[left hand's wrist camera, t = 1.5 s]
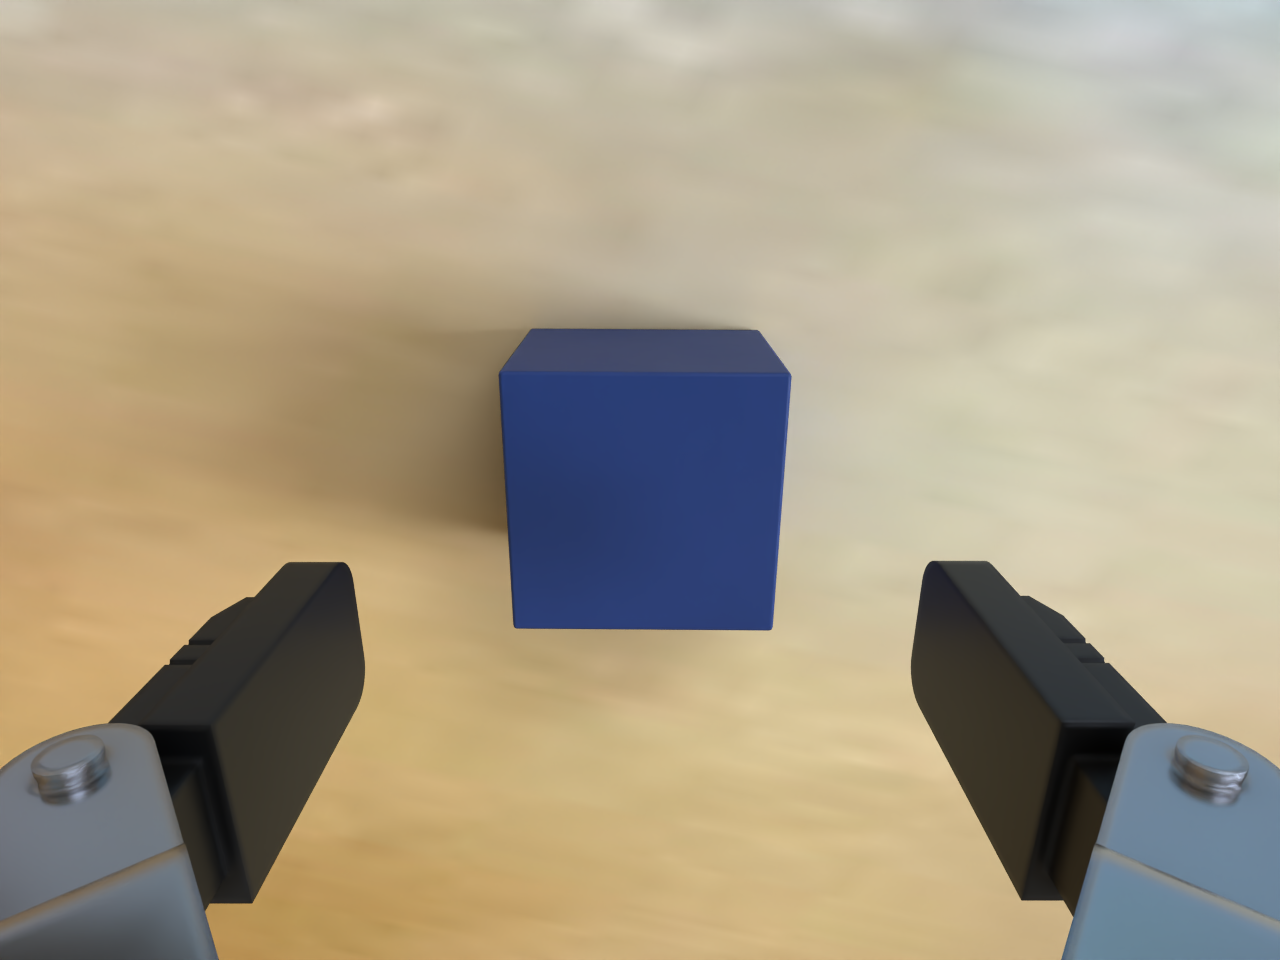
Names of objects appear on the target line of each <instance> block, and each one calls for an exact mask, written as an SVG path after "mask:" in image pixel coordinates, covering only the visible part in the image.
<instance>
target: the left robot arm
mask: <svg viewBox="0 0 1280 960" xmlns="http://www.w3.org/2000/svg"><path fill="white" fill-rule="evenodd" d="M364 678H365V660H364V652H363V645H362V638H361V631H360V625H359V618H358V611H357V604H356V597H355V590H354V583H353V577H352V574H351V571H350V568H349V567H348V565H347V564H346V563H344V562H289V563H286V564H285V565H284V566H283V567H282V568H281V569H280V570H279V571H278V572H277V573H276V574H275V576H274V577H273V578H272V579H271V580H270V581H269V582H268V583H267V584H266V585H265V586H264V587H263V589H262V590H261V591H260V592H259V593H258V594H257V595H256V596H255V597H246V598H244V599H242V600H241V601H239V602H237V603H235V604H234V605H232V606H230V607H228V608H227V609H225V610H223V611H221V612H220V613H218V614H216V615H214V616H213V617H211V618H210V619H209V620H208V621H207V622H206V623H205V624H204V625H203V626H202V627H201V628H200V629H199V631H198V632H197V633H196V634H195V635H194V636H193V637H192V638H191V639H190V640H189V645H184V646H183V647H182V648H181V649H180V650H179V651H178V652H177V653H176V654H175V655H174V656H173V657H172V658H171V659H170V664H169V665H164V666H163V667H162V668H161V669H160V670H159V671H158V672H157V673H156V675H155V676H154V677H153V678H152V679H151V680H150V681H149V682H148V683H147V684H146V685H145V686H144V687H143V688H142V689H141V690H140V691H139V692H138V693H137V694H136V695H135V696H134V697H133V698H132V699H131V700H130V701H129V702H128V703H127V704H126V705H125V706H124V707H123V708H122V709H121V710H120V711H119V712H118V713H117V714H116V715H115V716H114V718H113V719H112V720H111V721H110V722H109V723H107V724H99V725H92V726H88V727H83V728H79V729H76V730H72V731H69V732H66V733H63V734H60V735H57V736H55V737H52V738H50V739H48V740H46V741H43V742H41V743H39V744H37V745H35V746H33V747H32V748H30V749H28V750H26V751H24V752H23V753H21V754H20V755H18V756H17V757H15V758H14V759H12V760H11V761H10V762H8V763H7V764H6V765H5V766H3V767H2V768H1V769H0V960H219V959H218V956H217V952H216V949H215V945H214V942H213V938H212V935H211V931H210V928H209V924H208V921H207V917H206V914H205V910H206V909H207V907H208V905H209V903H253V901H254V899H255V897H256V895H257V893H258V892H259V890H260V888H261V886H262V884H263V882H264V880H265V879H266V877H267V875H268V873H269V871H270V869H271V867H272V865H273V864H274V862H275V860H276V858H277V856H278V854H279V852H280V850H281V849H282V847H283V845H284V843H285V841H286V839H287V837H288V836H289V834H290V832H291V830H292V828H293V826H294V824H295V822H296V821H297V819H298V817H299V815H300V813H301V811H302V809H303V807H304V806H305V804H306V802H307V800H308V798H309V796H310V794H311V793H312V791H313V789H314V787H315V785H316V783H317V781H318V779H319V778H320V776H321V774H322V772H323V770H324V768H325V766H326V765H327V763H328V761H329V759H330V757H331V755H332V753H333V751H334V750H335V748H336V746H337V744H338V742H339V740H340V738H341V736H342V735H343V733H344V731H345V729H346V727H347V725H348V723H349V722H350V720H351V718H352V716H353V714H354V712H355V710H356V708H357V706H358V704H359V702H360V699H361V695H362V691H363V686H364ZM911 678H912V686H913V691H914V695H915V698H916V701H917V703H918V705H919V707H920V709H921V711H922V713H923V715H924V717H925V719H926V721H927V723H928V724H929V726H930V728H931V730H932V732H933V734H934V736H935V738H936V740H937V741H938V743H939V745H940V747H941V749H942V751H943V753H944V755H945V757H946V758H947V760H948V762H949V764H950V766H951V768H952V770H953V772H954V774H955V775H956V777H957V779H958V781H959V783H960V785H961V787H962V789H963V791H964V793H965V794H966V796H967V798H968V800H969V802H970V804H971V806H972V808H973V810H974V811H975V813H976V815H977V817H978V819H979V821H980V823H981V825H982V827H983V828H984V830H985V832H986V834H987V836H988V838H989V840H990V842H991V844H992V846H993V847H994V849H995V851H996V853H997V855H998V857H999V859H1000V861H1001V863H1002V864H1003V866H1004V868H1005V870H1006V872H1007V874H1008V876H1009V878H1010V880H1011V881H1012V883H1013V885H1014V887H1015V889H1016V891H1017V893H1018V895H1019V897H1020V898H1021V900H1064V902H1065V903H1066V905H1067V907H1068V909H1069V910H1070V912H1071V914H1072V915H1073V921H1072V924H1071V928H1070V931H1069V935H1068V938H1067V942H1066V945H1065V949H1064V952H1063V956H1062V959H1061V960H1280V769H1279V768H1278V767H1277V766H1275V765H1274V764H1273V763H1272V762H1270V761H1269V760H1268V759H1266V758H1265V757H1263V756H1262V755H1260V754H1259V753H1257V752H1256V751H1254V750H1252V749H1250V748H1248V747H1247V746H1245V745H1243V744H1241V743H1239V742H1237V741H1234V740H1232V739H1230V738H1228V737H1225V736H1223V735H1220V734H1217V733H1214V732H1211V731H1208V730H1204V729H1201V728H1197V727H1192V726H1188V725H1181V724H1173V723H1167V722H1166V721H1165V720H1164V719H1163V718H1162V717H1161V716H1160V715H1159V714H1158V713H1157V712H1156V711H1155V710H1154V709H1153V708H1152V707H1151V706H1150V705H1149V704H1148V703H1147V702H1146V701H1145V700H1144V699H1143V698H1142V697H1141V696H1140V695H1139V693H1138V692H1137V691H1136V690H1135V689H1134V688H1133V687H1132V686H1131V685H1130V684H1129V683H1128V682H1127V681H1126V680H1125V679H1124V678H1123V677H1122V676H1121V675H1120V674H1119V673H1118V672H1117V671H1116V670H1115V669H1114V668H1113V667H1112V666H1111V665H1110V664H1109V663H1105V662H1104V657H1103V656H1102V655H1101V654H1100V653H1099V652H1098V651H1097V650H1096V649H1095V648H1094V647H1093V646H1092V645H1091V644H1090V643H1086V642H1085V638H1084V637H1083V636H1082V635H1081V634H1080V633H1079V632H1078V630H1077V629H1076V628H1075V627H1074V626H1073V625H1072V624H1071V623H1070V622H1069V621H1068V620H1067V619H1066V618H1065V617H1064V616H1063V615H1061V614H1059V613H1058V612H1056V611H1054V610H1052V609H1051V608H1049V607H1047V606H1045V605H1044V604H1042V603H1040V602H1038V601H1037V600H1035V599H1033V598H1031V597H1030V596H1020V595H1019V594H1018V593H1017V592H1016V591H1015V590H1014V588H1013V587H1012V586H1011V585H1010V584H1009V583H1008V582H1007V581H1006V580H1005V579H1004V577H1003V576H1002V575H1001V574H1000V573H999V572H998V571H997V570H996V569H995V568H994V566H993V565H992V564H990V563H989V562H987V561H931V562H930V563H929V564H928V565H927V567H926V569H925V571H924V575H923V580H922V586H921V593H920V600H919V607H918V614H917V622H916V629H915V636H914V643H913V650H912V657H911Z"/></svg>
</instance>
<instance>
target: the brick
mask: <svg viewBox="0 0 1280 960" xmlns="http://www.w3.org/2000/svg"><path fill="white" fill-rule="evenodd" d="M790 389H791V374H790V372H789V371H788V370H787V368H786V367H785V366H784V364H783V363H782V362H781V360H780V359H779V357H778V356H777V355H776V353H775V352H774V351H773V349H772V348H771V347H770V345H769V344H768V343H767V341H766V340H765V338H764V337H763V336H762V334H761V333H760V332H759V331H758V330H654V329H531V330H530V331H529V333H528V334H527V335H526V337H525V338H524V339H523V341H522V342H521V344H520V345H519V346H518V348H517V349H516V350H515V352H514V353H513V354H512V356H511V357H510V358H509V360H508V361H507V362H506V364H505V365H504V367H503V368H502V369H501V371H500V372H499V390H500V407H501V424H502V441H503V457H504V474H505V491H506V508H507V525H508V542H509V558H510V575H511V592H512V609H513V625H514V627H515V628H526V629H658V630H771V629H772V627H773V615H774V602H775V589H776V575H777V562H778V549H779V535H780V522H781V509H782V495H783V482H784V469H785V456H786V442H787V429H788V416H789V402H790Z"/></svg>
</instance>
